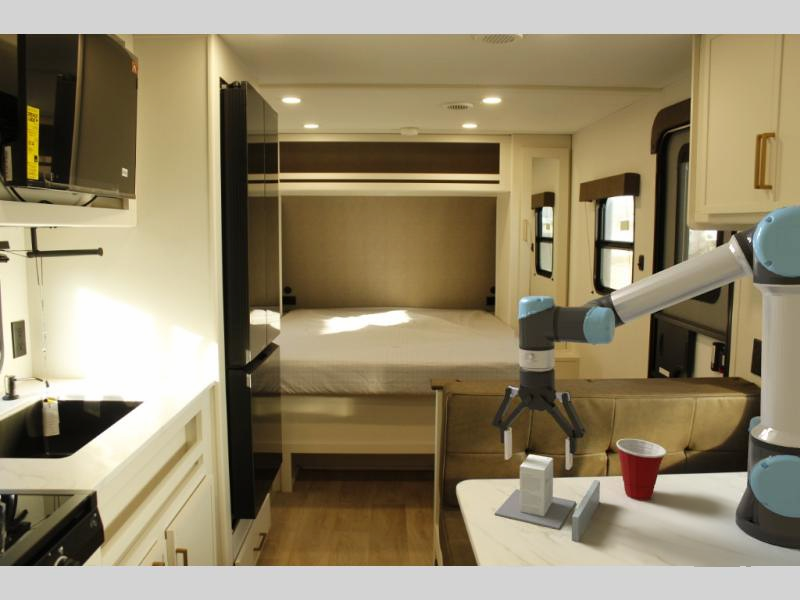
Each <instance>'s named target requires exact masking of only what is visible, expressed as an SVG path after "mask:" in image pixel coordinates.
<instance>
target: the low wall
mask: <svg viewBox="0 0 800 600" xmlns="http://www.w3.org/2000/svg"><path fill="white" fill-rule="evenodd" d="M600 487H601V481H600V480H597V479H594V480H593V481H592V483H591V485H590V486H589V488H588V489H587V491H586V493H585V495H584V496H583V498H582V499H581V501H580V503H579V505H578V506H577V508H576V510H574V512H573V514H572V516H571V541H573V542H577V543H578V542H579V541H580V539H581V537H582V535H583V534H584V531H585V530H586V528H587V526H588V524H589V523H590V521H591V519H592V517H593V515H594V513H595V511H596V509H597V508H598V505H599V503H600V499H601V498H600V497H601V496H600V494H601V492H600V491H601V490H600V489H601V488H600Z"/></svg>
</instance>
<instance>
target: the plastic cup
mask: <svg viewBox="0 0 800 600" xmlns="http://www.w3.org/2000/svg"><path fill="white" fill-rule="evenodd" d="M616 448H617V450H618V455H619V461H620V468H621V469H620V470H621V475H622V481H623V485H624V486H623V488H624V492H625V495H626V496H627V497H628V498H630V499H633V500H637V501H649V500H651V499H652V497H653V495H654V489H655V485H656V483H657V479H658V475H659V472H660V465H662V461H663V460H664V459H663V458H664V456H666V455H667V450H666V449H665V448H664V447H663V446H661V445H659V444H657V443H655V442H650V441H648V440H644V439H637V438H620V439H619V440H617V441H616Z"/></svg>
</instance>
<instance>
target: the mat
mask: <svg viewBox="0 0 800 600" xmlns="http://www.w3.org/2000/svg"><path fill="white" fill-rule="evenodd" d="M576 504H577V502H576V500H573V499H572V500H571V499H565V498H561V497H555V496H553V501H552V503H551V505H550V507H549V509H548V510H547V512H546V514H545V516H539V515H534V514H529V513H524V512H520V489H518V488H516V489H515V490H514V491H512V493H511V494H510V495H509V496H508V498H507V499H506V500H505V501H504V502H503V503H502V504H501V505H500V507H499V508H498V509H497V510H496V511H495V512H494V515H495V516H498V517H503V518H506V519H511V520H515V521H519V522H524V523H529V524H531V525H537V526H541V527H545V528H549V529H552V530H553V529H554V530H558V531H559V530H560V529H561V527H562V526H563V524H564V523H565V521H566V520H567V518H568V516H569V515H570V513H571V511H572V509H573V508H574V506H575V505H576Z"/></svg>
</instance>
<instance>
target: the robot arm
mask: <svg viewBox="0 0 800 600" xmlns="http://www.w3.org/2000/svg"><path fill="white" fill-rule="evenodd" d="M746 277H748V278H751V279H752V284H753V286H754V287H755V288H757V289H758V290H759V291H760V292H761V294H762V307H761V308H762V313H761V316H762V317H761V322H762V323H761V364H760V365H761V368H760V369H761V371H760V372H761V373H760V374H761V377H760V416H759V415H758V416H754V417H752V418H751V419H750V422H749V428H748V432H749V435H748V450H747V451H748V453H747V454H748V455H747V456H748V457H747V475H746V477H747V481H746V488H745V489H744V492H743V494H742V497H741V498H740V501H739V503H738V505H737V507H736V511H735V524H736V526H737V527H738V528H739V529H740V530H741V531H742V532H744V533H746V534H747V535H748V536H751V537H752V538H755V539H758V540H760V541H761V542H762V541H763V542H766V543H768V544H772V545H775V546H779V547H780V546H781V547H786V548H793V549H794V548H796V549H800V205H794V204H793V205H790V206H789V205H788V206H782V207H779V208H776V209H774V210H772V211H770V212H769V213H768V214H766V215H765V216H763V218H762V219H760V220H759V221H758V222H755V224H753V225H751V226H749V227H748V228H746V229H744V230H741V231H740V232H736V233H734V234H733V235H731V237H730V239H729V241H728V242H726V243H724V244H722V245H719V246H717V247H715V248H712V249H710V250H708V251H705V252H703V253H701V254H699V255H696V256H694V257H691V258H689V259H686V260H684V261H681V262H680V263H677V264H675V265H673V266H670V267H668V268H666V269H664V270H661V271H658V272H656V273H654V274H652V275H649V276H646V277H645V278H642V279H640V280H638V281H635V282H633V283H629V284H628V285H626V286H624V287H621V288H619V289H617V290H614V291H612V292H609V293H608V294H604V295H602V296H600V297H598V298H594V299H591V300H589V301H587V302H586V303H584V304H582V305H581V306H560V305H556V303H555V298H554V297H552V296H549V295H547V296H546V295H529V296H523V297H522V298H520V300H519V302H518V317H517V321H518V322H517V323H518V343H519V344H518V355H519V356H518V357H519V358H518V364H519V366H520V368H519V371H518V372H519V373H518V375H519V387H515V386H514V385H512V384H511V385H509V386H508V387H506V388H505V390H504V391H505V392H504V398H503V400H502V402H501V404H500V406H499V407H498V410H497V412H496V414H495V416H494V417H493V419H492V423H491V425H492V426H493V427H497V428H498V429H499V431H500V434H499V435H500V444H503V445H504V460H506V461H508V460H510V458H512V456H513V431H512V429H513V428H512V427H509V426H510V425H511V424H512V423H513V421H514V420H516V418H517V417H518V416H519V415H520V414H521V413H522V411H524V410H525V409H526V408H527V409H528V411H535V410H537V411H539V412H545V411H546V412H547V413H548V415H551V417H552V418H553V419H554V421H555V422H556V423H557V425H558V426H559V427H560V429H561V430H562V431H563V432H564V433H565V435H566V436H567V437H566V438H565V470H568V471H569V470H570V469H572V467H573V455H575V454H576V453H577V450H578V439H581V438H582V439H583V437H584V436H585V435H586V434H587V431H586V430H587V429H585V426H584V424H583V422H582V421H581V418H580V416H579V414H578V411H577V410H576V408H575V406H574V404H573V402H572V398H571V392H570V390H565V391H563V392H561V391H560V392H559V391H557V390H556V370H555V369H554V367H555V365H556V361H555V360H556V358H555V343H556V342H559V343H561V342H562V343H575V344H576V343H579V344H590V345H594V346H596V345H597V344H598V345H601V344H602V345H607V344H610V343H612V342H613V340H614V336H615V331H616V328H618V327H621V326H624V325H625V324H628V323H630V322H631V323H632V322H633V321H636V320H638V319H641V318H643V317H646V316H648V315H651V314H654V313H656V312H658V311H661V310H663V309H666V308H669V307H671V306H674V305H677V304H679V303H682V302H684V301H687V300H689V299H692V298H695V297H697V296H700V295H702V294H705V293H707V292H710V291H713V290H715V289H718V288H720V287H723V286H725V285H728V284H731V283H733V282H736V281H737V280H740V279H744V278H746ZM516 396H518V397H519V398H520V400H521V402H520V403H519V404H518V405H517V406H516V408H515V409H514V410H513V411H512V412H511V413H509V415H508V416H507V418H506V419H504V421H503V418H504V416H505V414H506V413H507V410H508V408H509V406H510V404H511V403H512V400H513V398H515V397H516ZM557 399H558V400H559V402H560V403H561V404H562V406H563V408H564V410H565V413H566V415H567V417H568V419H569V421H568V419H567V418H566V416H564V414H563V413H562V411H561V410H560V409H559V407H558V405H557V404H556V403H555V401H556V400H557ZM570 422H571V423H570Z"/></svg>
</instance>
